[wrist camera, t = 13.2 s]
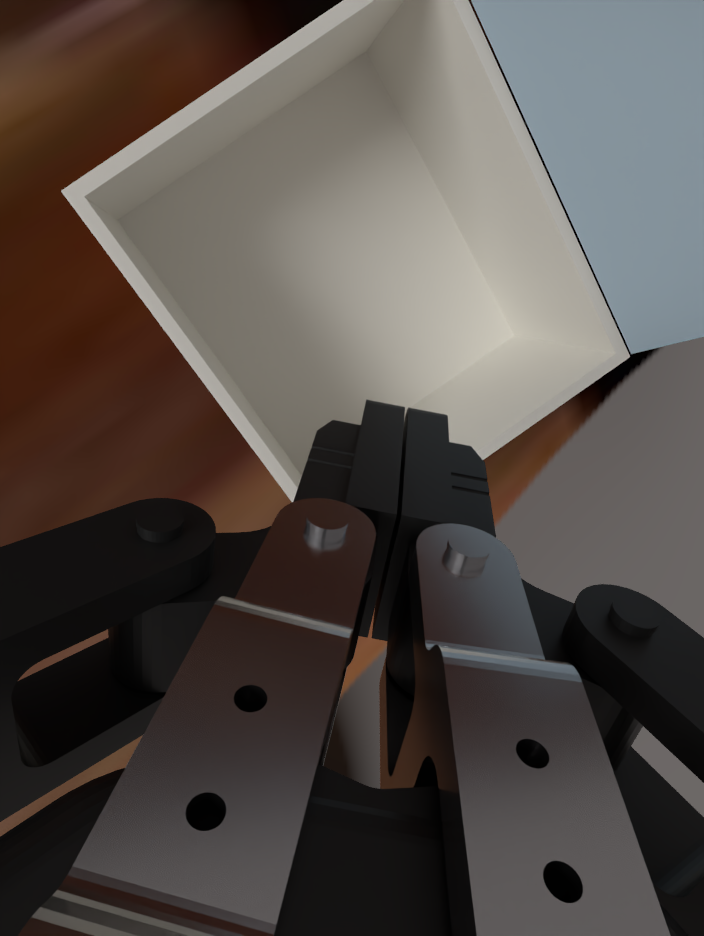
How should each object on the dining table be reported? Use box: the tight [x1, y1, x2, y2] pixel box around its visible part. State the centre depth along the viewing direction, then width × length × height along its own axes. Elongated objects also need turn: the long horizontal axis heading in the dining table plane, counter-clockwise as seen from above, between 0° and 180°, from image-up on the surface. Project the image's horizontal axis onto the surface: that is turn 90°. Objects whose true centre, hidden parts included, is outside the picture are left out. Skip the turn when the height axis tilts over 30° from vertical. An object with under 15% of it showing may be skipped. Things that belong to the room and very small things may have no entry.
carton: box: [61, 0, 630, 502], centre depth 35 cm, size 18×20×12 cm
